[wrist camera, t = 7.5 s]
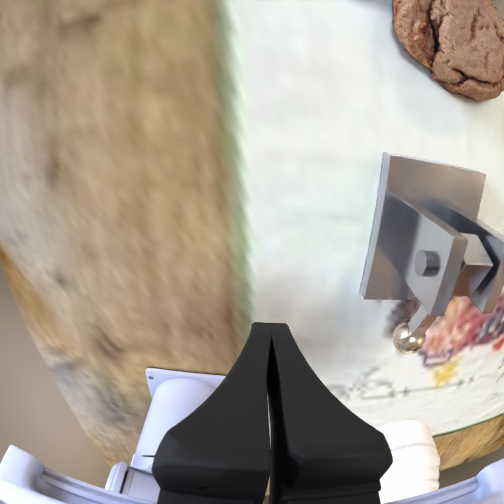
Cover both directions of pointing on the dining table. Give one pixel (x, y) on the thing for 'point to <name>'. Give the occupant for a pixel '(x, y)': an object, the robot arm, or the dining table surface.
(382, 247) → the bracket
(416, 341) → the tap lever
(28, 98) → the dining table surface
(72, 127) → the dining table surface
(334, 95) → the dining table surface
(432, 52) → the cookie
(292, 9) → the dining table surface
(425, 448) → the honey pot
